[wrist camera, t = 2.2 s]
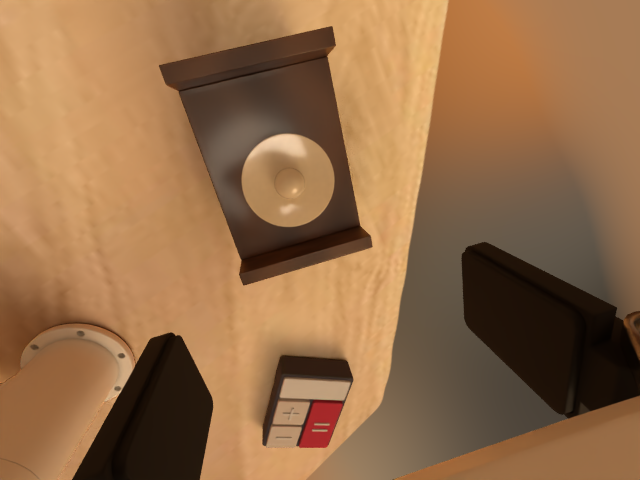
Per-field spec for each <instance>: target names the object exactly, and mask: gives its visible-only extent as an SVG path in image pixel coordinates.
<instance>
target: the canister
mask: <svg viewBox="0 0 640 480" xmlns="http://www.w3.org/2000/svg"><path fill="white" fill-rule="evenodd" d="M241 183H242V190H243V193H244V196H245V199H246V201H247V203H248V205H249V206H250V208H251V209H252V210H253V211H254V212H255V213H256V214H257V215H258V216H259V217H260V218H262V219H263V220H265V221H266V222H268V223H271V224H273V225H277V226H282V227H296V226H300V225H303V224H306V223H308V222H310V221H312V220H314V219H315V218H316V217H318V216H319V215H320V214H321V213H322V212H323V211H324V210H325V208H326V207H327V205H328V204H329V202H330V200H331V197H332V194H333V190H334V183H335V180H334V171H333V167H332V164H331V162H330V159H329V158H328V156H327V154H326V153H325V152H324V150H323V149H322V148H321V147H320V146H319V145H318V144H317V143H315V142H314V141H312V140H311V139H309V138H307V137H304V136H302V135H298V134H291V133H283V134H277V135H273V136H270V137H268V138H266V139H264V140H263V141H261V142H260V143H258V144H257V145H256V146H255V147H254V148H253V150H252V151H251V152H250V153H249V155H248V157H247V159H246V161H245V163H244V166H243V170H242V178H241Z"/></svg>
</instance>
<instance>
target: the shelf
mask: <svg viewBox="0 0 640 480" xmlns="http://www.w3.org/2000/svg"><path fill="white" fill-rule="evenodd" d="M335 46H336V44H335V38H334V33H333V27H332V26H331V27H326V28H322V29H317V30H313V31H308V32H304V33H300V34H295V35H291V36H286V37H282V38H278V39H273V40H269V41H264V42H260V43H255V44H251V45H247V46H242V47H238V48H233V49H229V50H224V51H220V52H216V53H211V54H207V55H202V56H198V57H194V58H189V59H185V60H180V61H176V62H171V63H167V64H163V65H159V67H160V70H161V73H162V75H163V78H164V80H165V83H166V85H168V86H169V87H171V88H173V89H175V90H177V91H179V95H180V97H181V100H182V103H183V105H184V108H185V111H186V113H187V116H188V119H189V122H190V124H191V127H192V130H193V132H194V135H195V138H196V140H197V143H198V146H199V148H200V151H201V154H202V156H203V159H204V162H205V164H206V167H207V170H208V172H209V175H210V178H211V180H212V183H213V186H214V189H215V191H216V194H217V197H218V199H219V202H220V205H221V207H222V210H223V213H224V215H225V218H226V221H227V223H228V226H229V229H230V231H231V234H232V237H233V239H234V242H235V245H236V247H237V250H238V253H239V256H240V258H241V267H240V273H239V275H240V278H241V281H242V283H243V285H247V284H251V283H254V282H257V281H261V280H264V279H267V278H271V277H274V276H277V275H281V274H284V273H288V272H291V271H294V270H298V269H301V268H304V267H308V266H311V265H314V264H318V263H321V262H324V261H328V260H331V259H335V258H338V257H341V256H345V255H348V254H351V253H355V252H358V251H361V250H365V249H368V248H371V247H372V241H371V236H370V235H369V234H368V233H367V232H366V231H365V230H364V229H363V228H362V227H361V226H360V222H359V217H358V212H357V207H356V201H355V196H354V191H353V186H352V181H351V176H350V171H349V165H348V160H347V155H346V150H345V145H344V140H343V135H342V130H341V124H340V119H339V114H338V109H337V104H336V99H335V94H334V88H333V83H332V78H331V73H330V68H329V63H328V58H327V56H328V54H329V53H330V52H331V51H332V49H333V48H334V47H335ZM283 133H291V134H298V135H302V136H304V137H307V138H309V139H311V140H312V141H314V142H315V143H317V144H318V145H319V146H320V147H321V148H322V149H323V150H324V152H325V153H326V154H327V156H328V158H329V159H330V162H331V164H332V167H333V171H334V180H335V183H334V190H333V194H332V197H331V200H330V202H329V204H328V205H327V207H326V208H325V210H324V211H323V212H322V213H321V214H320V215H319V216H318V217H316V218H315V219H314V220H312V221H310V222H308V223H306V224H303V225H300V226H296V227H282V226H277V225H273V224H271V223H268V222H266V221H265V220H263V219H262V218H260V217H259V216H258V215H257V214H256V213H255V212H254V211H253V210H252V209H251V208H250V206H249V205H248V203H247V201H246V199H245V196H244V193H243V190H242V183H241V178H242V170H243V166H244V163H245V161H246V159H247V157H248V155H249V153H250V152H251V151H252V150H253V148H254V147H255V146H256V145H257V144H258V143H260V142H261V141H263V140H264V139H266V138H268V137H270V136H273V135H277V134H283Z"/></svg>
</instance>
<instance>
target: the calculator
mask: <svg viewBox="0 0 640 480" xmlns="http://www.w3.org/2000/svg"><path fill="white" fill-rule="evenodd" d="M352 382H353V377H352V373H351V370H350V367H349V364H348V362H347V361H340V360H327V359H314V358H301V357H288V356H282V357H281V358H280V361H279V364H278V368H277V372H276V377H275V383H274V387H273V391H272V394H271V398H270V402H269V406H268V409H267V413H266V417H265V421H264V424H263V445H264V446H266V447H267V448H294V447H296V446H299V447H300V448H326V447H327V446H328V445H329V442H330V440H331V437H332V434H333V432H334V429H335V427H336V424H337V421H338V419H339V416H340V414H341V411H342V408H343V406H344V403H345V401H346V398H347V395H348V393H349V390H350V388H351V385H352Z"/></svg>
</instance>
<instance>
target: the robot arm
mask: <svg viewBox="0 0 640 480" xmlns="http://www.w3.org/2000/svg"><path fill="white" fill-rule="evenodd" d="M462 277H463V299H464V319H465V322H466V324H467V326H468V328H469V329H470V330H471V331H472V332H473V333H475V335H476V336H477V337H478V338H480V339H481V340H482V341H483V342H484V343H485V344H486V345H487V346H488V347H489V348H490V349H491V350H492V351H493V352H494V353H495V354H496V355H497V356H498V357H499V358H500V359H501V360H502V361H503V362H504V363H505V364H506V365H508V366H509V367H510V368H511V369H512V370H513V371H514V372H515V373H516V374H517V375H518V376H519V377H520V378H521V379H522V380H523V381H524V382H525V383H526V384H527V385H528V386H529V387H530V388H531V389H532V390H533V391H534V392H535V393H536V394H537V395H539V396H540V397H541V398H542V399H543V400H544V401H545V402H546V403H547V404H548V405H549V406H550V407H551V408H552V409H553V410H554V411H556V412H557V413H559V414H562V415H563V414H564V415H565V416H566V417H567V418H568V419H567V420H563V421H561V422H558V423H555V424H552V425H549V426H546V427H543V428H540V429H537V430H534V431H532V432H528V433H526V434H523V435H520V436H517V437H514V438H511V439H508V440H505V441H502V442H499V443H496V444H493V445H490V446H488V447H485V448H482V449H479V450H476V451H473V452H470V453H467V454H465V455H462V456H459V457H456V458H453V459H450V460H447V461H444V462H442V463H439V464H436V465H433V466H430V467H427V468H424V469H422V470H419V471H416V472H413V473H410V474H407V475H404V476H401V477H399V478H396V479H393V480H640V311H636V312H633V313H631V314H628V315H627V316H626V317H625V319H624V321H623V320H621V319H619V318H617V317H616V316H615V315H616V310H617V307H615V306H613V305H611V304H609V303H607V302H605V301H603V300H600V299H599V298H597V297H594V296H593V295H591V294H589V293H587V292H585V291H583V290H581V289H579V288H577V287H575V286H573V285H571V284H569V283H567V282H565V281H563V280H561V279H559V278H557V277H555V276H553V275H550V274H549V273H547V272H545V271H543V270H541V269H539V268H537V267H535V266H533V265H531V264H529V263H527V262H525V261H523V260H521V259H519V258H517V257H515V256H513V255H511V254H509V253H507V252H505V251H503V250H501V249H499V248H497V247H495V246H493V245H491V244H489V243H486V242H482V243H479V244H475V245H472V246H468V247H467V248H466V250H465V252H464V253H463V254H462ZM20 367H21V370H20V371H19V372H18V373H17V374H16V375H15V376H14V377H11V378H9V379H8V380H6V382H5V383H0V480H58V479H59V477H60V475H61V473H62V472H63V470H64V468H65V467H66V465H67V463H68V462H69V460H70V458H71V457H72V455H73V453H74V451H75V450H76V448H77V446H78V445H79V443H80V441H81V440H82V438H83V436H84V435H85V433H86V431H87V430H88V428H89V426H90V424H91V423H92V421H93V419H94V418H95V416H96V414H97V413H98V411H99V409H100V408H101V406H102V404H103V402H105V401H108V400H110V399H112V398H114V397H115V396H117V395H119V396H118V398H117V400H116V402H115V403H114V405H113V407H112V409H111V411H110V412H109V414H108V416H107V418H106V420H105V421H104V423H103V425H102V427H101V429H100V430H99V432H98V434H97V436H96V438H95V439H94V441H93V443H92V445H91V447H90V448H89V450H88V452H87V454H86V456H85V457H84V459H83V461H82V463H81V465H80V466H79V468H78V470H77V472H76V474H75V475H74V477H73V479H72V480H200V475H201V470H202V464H203V459H204V454H205V449H206V443H207V438H208V433H209V427H210V422H211V417H212V411H213V400H212V397H211V394H210V392H209V390H208V388H207V386H206V384H205V382H204V380H203V378H202V376H201V374H200V372H199V370H198V368H197V366H196V364H195V362H194V360H193V358H192V356H191V354H190V352H189V351H188V349H187V347H186V345H185V343H184V341H183V339H182V337H181V336H180V335H177V336H175V334H173V333H167V334H164V335H160V336H157V337H154V338H151V339H150V340H149V342H148V344H147V346H146V347H145V349H144V351H143V353H142V355H141V356H140V358H139V360H138V362H137V364H136V365H135V361H134V357H133V354H132V352H131V350H130V348H129V347H128V346H127V344H126V343H125V342H124V341H123V340H122V339H121V338H119V337H118V336H117V335H115V334H113V333H112V332H110V331H108V330H106V329H103V328H100V327H97V326H93V325H88V324H78V323H76V324H64V325H59V326H55V327H52V328H50V329H47V330H45V331H43V332H42V333H40V334H39V335H37V336H36V337H35V338H34V339H33V340H32V341H31V342H30V343H29V344H28V345H27V346H26V347H25V349H24V351H23V353H22V355H21V361H20Z"/></svg>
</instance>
